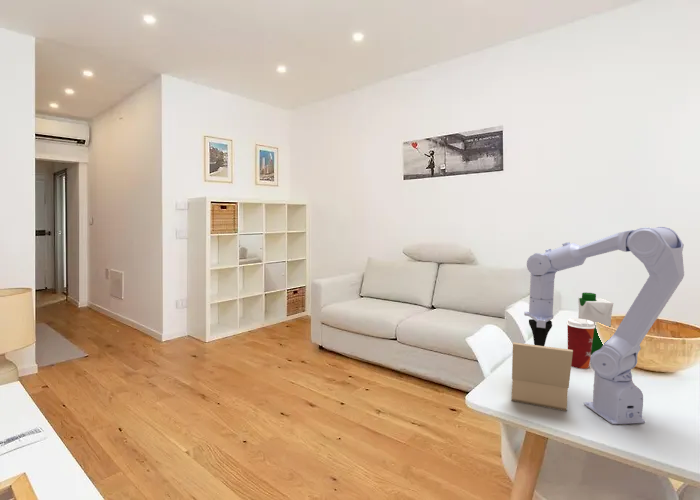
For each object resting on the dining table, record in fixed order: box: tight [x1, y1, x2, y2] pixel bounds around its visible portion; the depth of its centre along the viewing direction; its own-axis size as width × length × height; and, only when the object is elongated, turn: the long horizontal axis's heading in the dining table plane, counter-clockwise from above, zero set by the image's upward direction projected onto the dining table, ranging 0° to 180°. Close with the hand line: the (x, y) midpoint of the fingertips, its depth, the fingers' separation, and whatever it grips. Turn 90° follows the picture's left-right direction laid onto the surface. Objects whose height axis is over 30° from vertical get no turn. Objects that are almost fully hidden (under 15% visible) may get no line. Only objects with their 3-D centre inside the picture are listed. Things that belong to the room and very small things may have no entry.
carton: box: [511, 378, 569, 412], centre depth 99 cm, size 11×12×6 cm
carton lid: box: [511, 341, 573, 389], centre depth 91 cm, size 11×12×1 cm
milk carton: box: [577, 292, 614, 355], centre depth 131 cm, size 9×9×20 cm
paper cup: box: [566, 317, 595, 370], centre depth 120 cm, size 8×8×14 cm
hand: (539, 347), depth 105 cm, fingers closed
